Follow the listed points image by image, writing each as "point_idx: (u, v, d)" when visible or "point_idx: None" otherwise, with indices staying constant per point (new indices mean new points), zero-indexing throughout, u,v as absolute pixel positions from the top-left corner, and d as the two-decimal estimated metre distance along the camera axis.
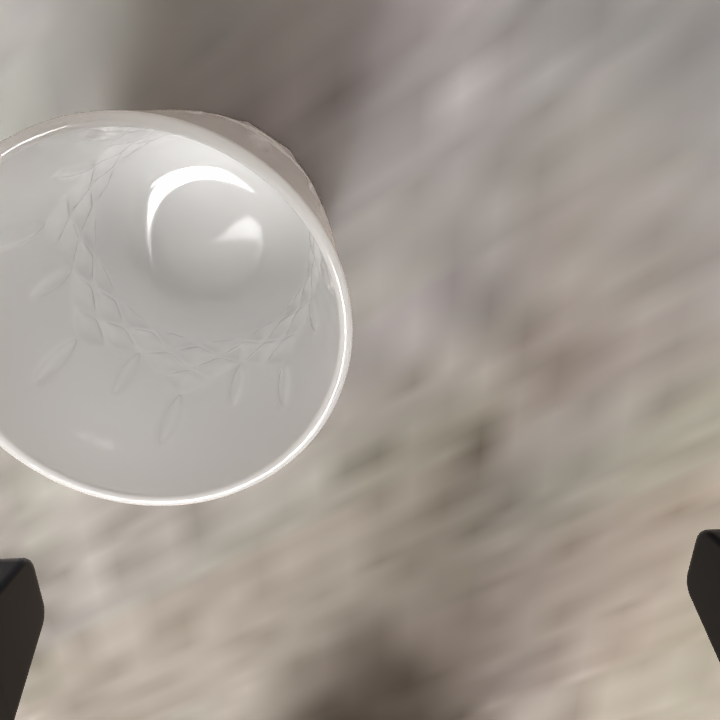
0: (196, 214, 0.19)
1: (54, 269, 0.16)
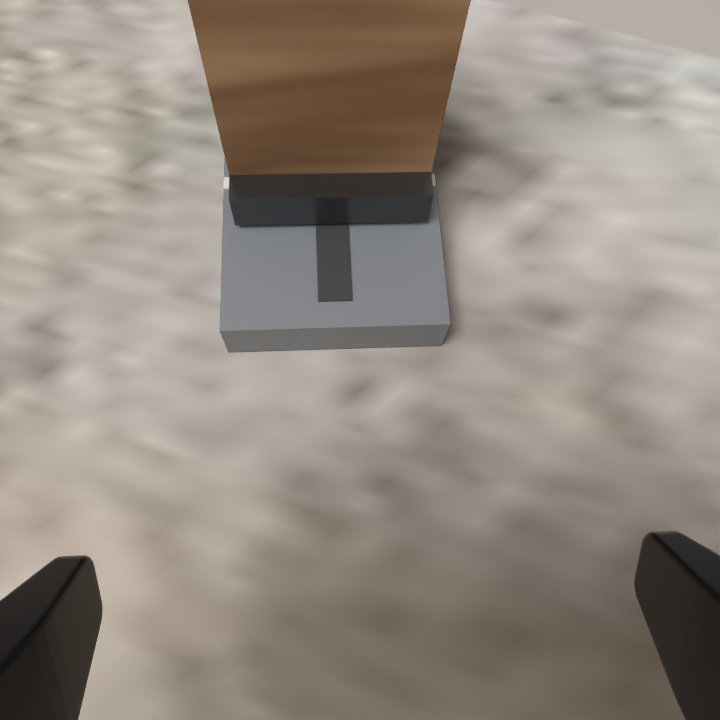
0: None
1: None
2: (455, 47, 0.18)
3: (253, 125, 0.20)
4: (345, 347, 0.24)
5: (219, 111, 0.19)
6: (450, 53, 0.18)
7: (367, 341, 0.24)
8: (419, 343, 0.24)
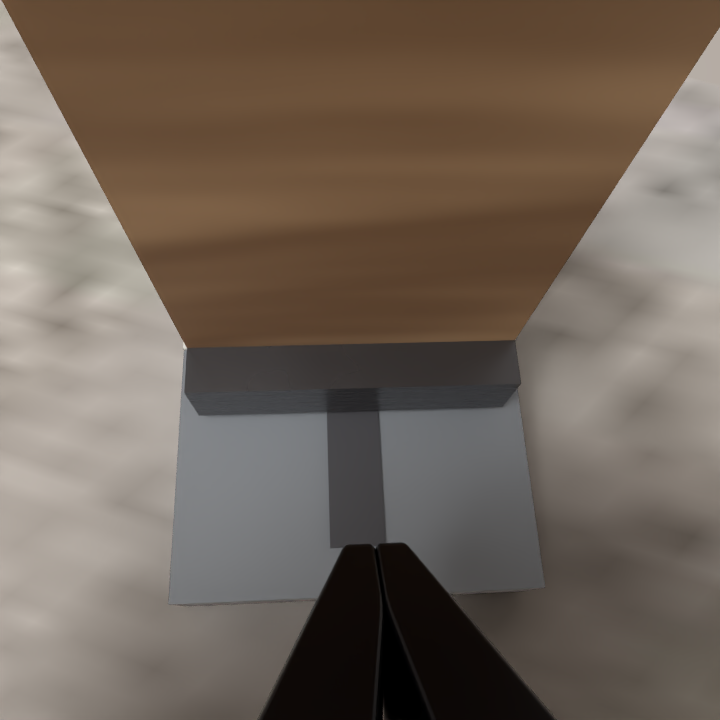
0: None
1: None
2: (608, 185, 0.09)
3: (221, 292, 0.11)
4: None
5: (158, 276, 0.11)
6: (595, 194, 0.09)
7: None
8: (487, 592, 0.15)
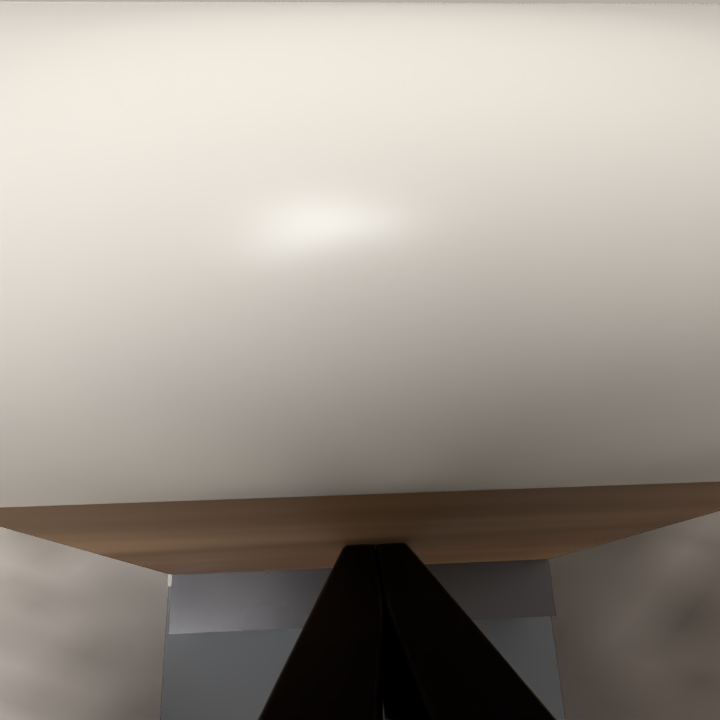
0: None
1: None
2: (687, 518, 0.07)
3: (208, 561, 0.10)
4: None
5: (133, 559, 0.09)
6: (669, 520, 0.07)
7: None
8: None
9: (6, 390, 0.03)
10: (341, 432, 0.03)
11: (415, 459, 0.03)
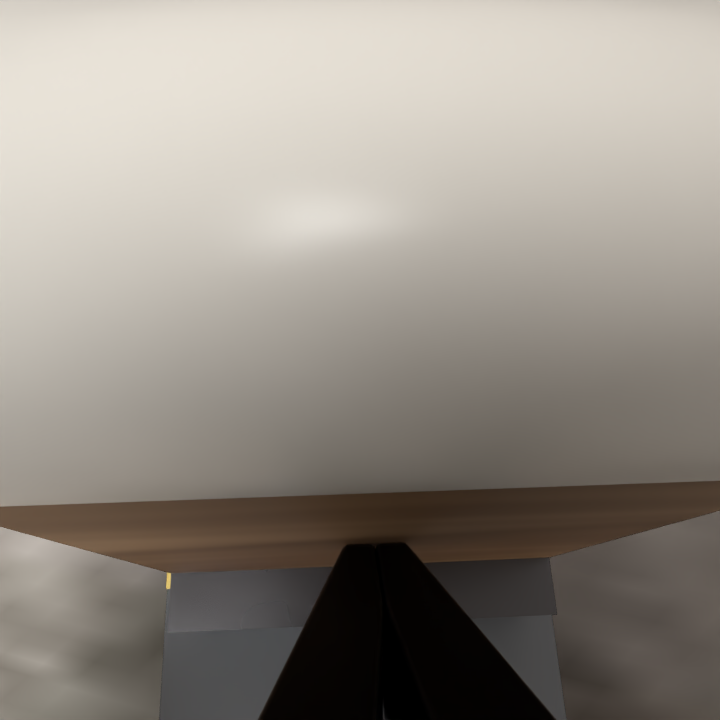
0: None
1: None
2: (691, 516, 0.07)
3: (207, 560, 0.10)
4: None
5: (131, 559, 0.09)
6: (672, 519, 0.07)
7: None
8: None
9: None
10: (342, 430, 0.03)
11: (418, 458, 0.03)
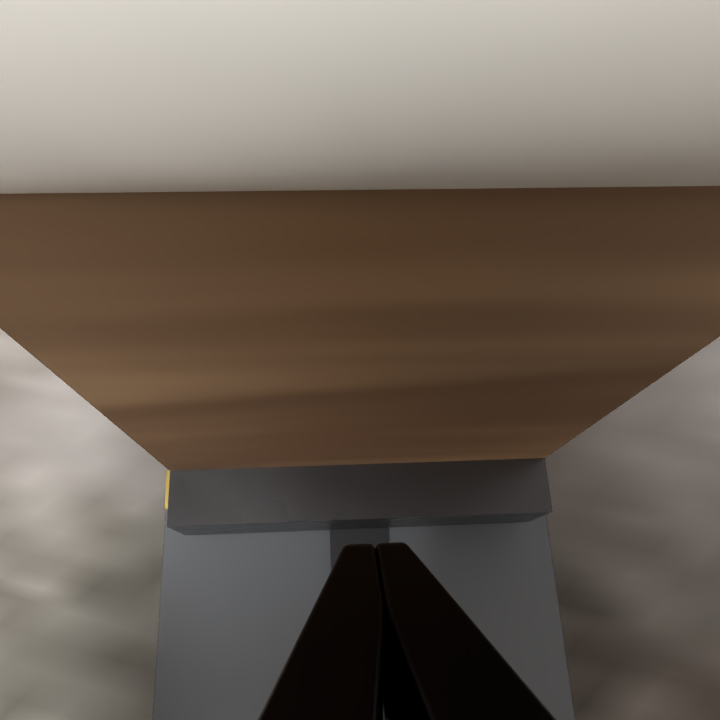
0: None
1: None
2: (682, 355, 0.07)
3: (206, 436, 0.10)
4: None
5: (130, 427, 0.09)
6: (664, 362, 0.07)
7: None
8: None
9: None
10: (331, 20, 0.03)
11: (405, 73, 0.03)
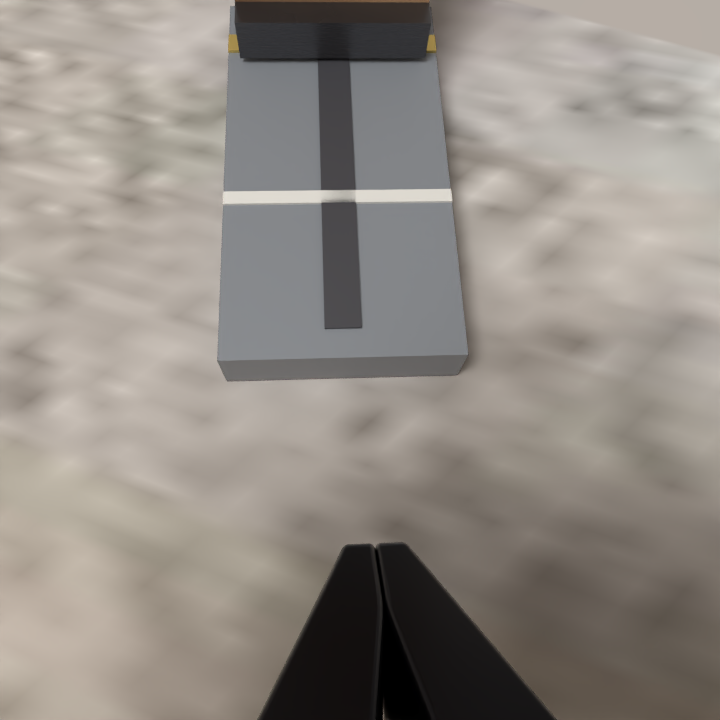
0: None
1: None
2: None
3: None
4: (353, 377, 0.23)
5: None
6: None
7: (378, 370, 0.22)
8: (433, 372, 0.22)
9: None
10: None
11: None
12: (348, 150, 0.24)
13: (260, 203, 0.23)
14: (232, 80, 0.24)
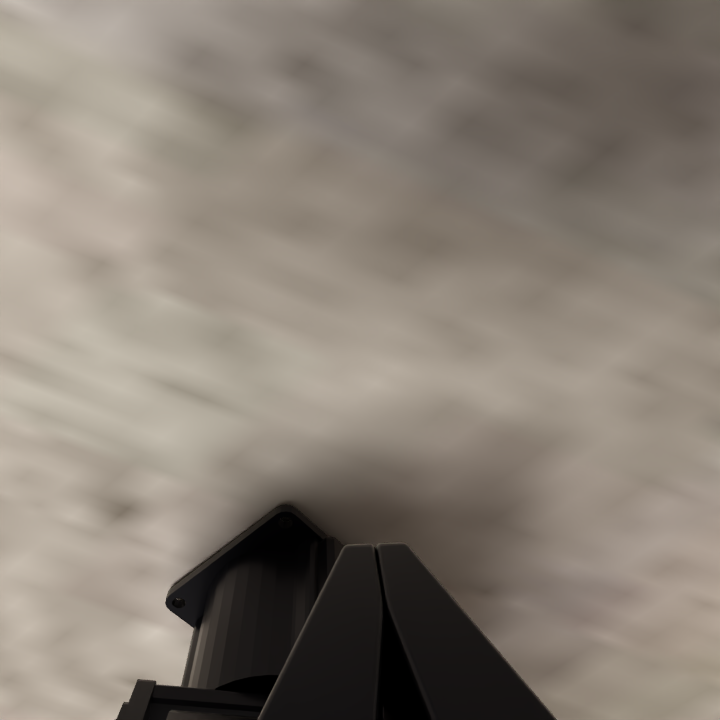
0: None
1: None
2: None
3: None
4: None
5: None
6: None
7: None
8: None
9: None
10: None
11: None
12: None
13: None
14: None
